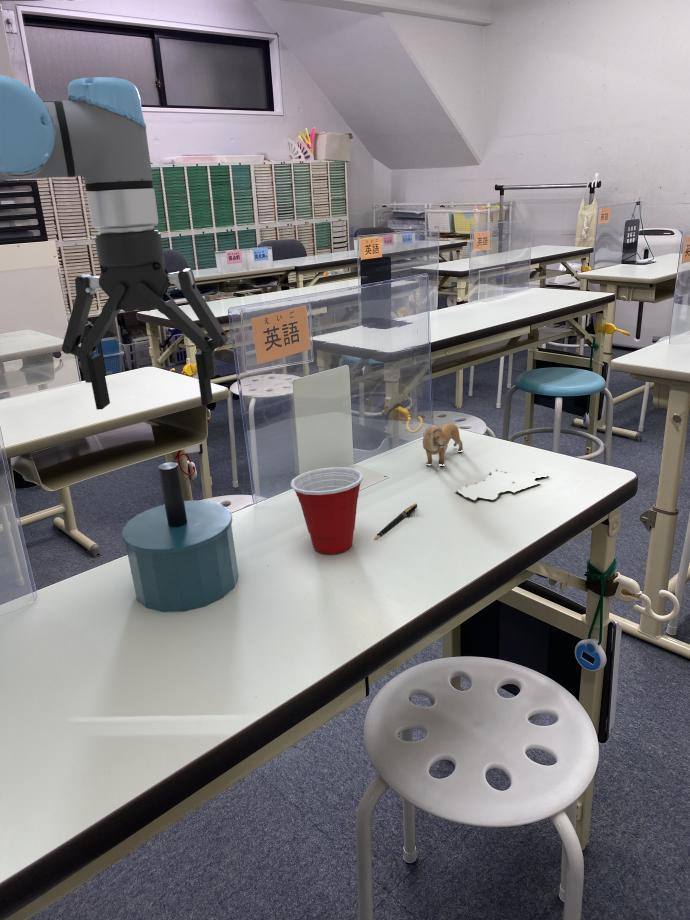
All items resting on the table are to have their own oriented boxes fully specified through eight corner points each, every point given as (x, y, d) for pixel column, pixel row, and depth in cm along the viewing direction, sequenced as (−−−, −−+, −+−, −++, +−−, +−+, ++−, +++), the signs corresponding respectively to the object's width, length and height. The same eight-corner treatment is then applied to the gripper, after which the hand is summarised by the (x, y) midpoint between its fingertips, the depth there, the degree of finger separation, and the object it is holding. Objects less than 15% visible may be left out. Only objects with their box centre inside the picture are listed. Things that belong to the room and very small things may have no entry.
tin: (122, 616, 91) (108, 554, 88) (154, 562, 105) (144, 506, 101) (226, 614, 90) (217, 550, 87) (246, 559, 104) (238, 503, 100)
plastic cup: (341, 525, 112) (336, 457, 108) (381, 549, 104) (377, 477, 100) (284, 546, 107) (276, 475, 103) (321, 573, 98) (314, 498, 94)
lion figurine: (444, 475, 129) (443, 430, 126) (417, 472, 131) (416, 427, 128) (466, 448, 141) (467, 407, 138) (442, 446, 143) (441, 405, 140)
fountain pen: (376, 545, 105) (376, 536, 105) (370, 543, 106) (369, 534, 106) (420, 508, 116) (420, 500, 116) (414, 507, 117) (414, 499, 116)
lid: (106, 559, 88) (92, 490, 84) (143, 509, 102) (132, 448, 98) (220, 556, 87) (209, 486, 83) (242, 505, 101) (234, 444, 97)
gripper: (238, 222, 83) (256, 392, 90) (38, 233, 84) (72, 399, 92) (225, 225, 76) (245, 409, 83) (7, 237, 77) (47, 416, 85)
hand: (155, 404), depth 88 cm, fingers open, 13 cm apart
